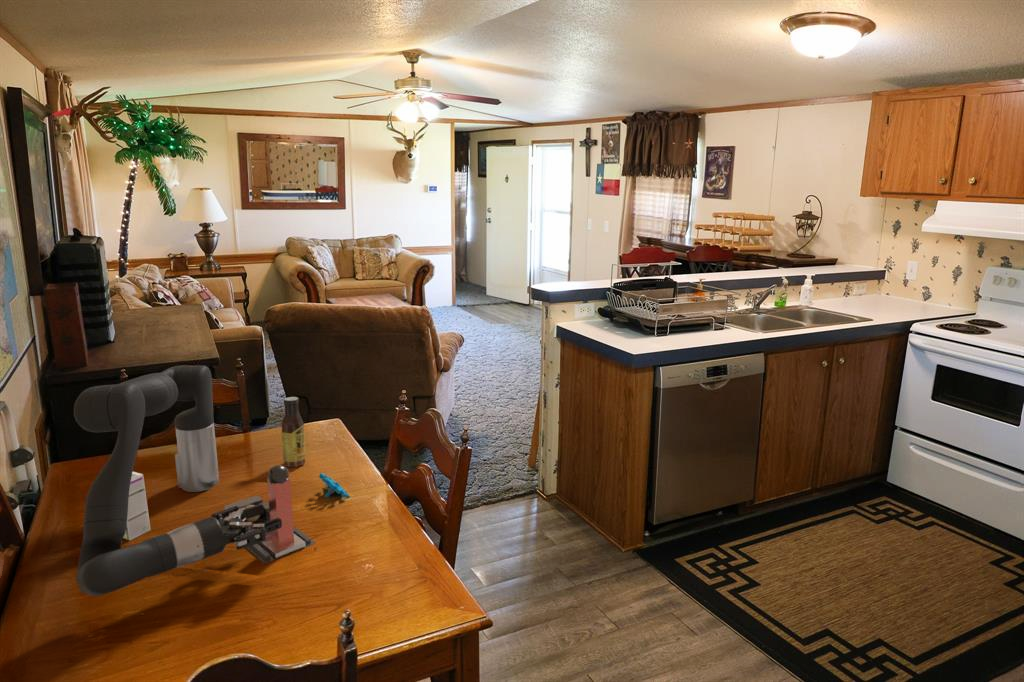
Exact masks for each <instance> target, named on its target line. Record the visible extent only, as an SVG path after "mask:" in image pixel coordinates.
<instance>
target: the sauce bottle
mask: <svg viewBox="0 0 1024 682" xmlns="http://www.w3.org/2000/svg"><path fill="white" fill-rule="evenodd" d="M299 400H300V399H299V397H297V396H289V397H284V398H283V405H284V416H283V417H282V419H281V444H282V446H281V447H282V460H283V466H285V467H286V468H298V467H301V466H303V465H305V463H306V439H305V436H306V435H305V424H304V421H303V418H302V416H301V413H300V410H299V402H300V401H299Z"/></svg>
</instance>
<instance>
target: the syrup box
mask: <svg viewBox="0 0 1024 682" xmlns="http://www.w3.org/2000/svg"><path fill="white" fill-rule="evenodd" d="M150 531H151V522H150V517H149V508H148V500H147V494H146V487H145V478H144V474H143V473H140V472H136V471H133V472H132V477H131V482H130V489H129V499H128V515H127V527H126V532H125V535H124V537H123V539H122V540H127V541H133V539H136V538H138V537H141V536H143V535H144V534H146V533H148V532H150Z"/></svg>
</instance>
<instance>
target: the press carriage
mask: <svg viewBox="0 0 1024 682" xmlns="http://www.w3.org/2000/svg"><path fill="white" fill-rule="evenodd" d="M266 481H267V495H268V504H269V511H270V520H273V519H276V518H280V519H281V520H282V527H281V528H280V529H277V530H274V531H272V532H269V533H267V534H266V541H263V542H261V543H258V544H260V545H261V546H262V547H263V548H264V549H265V550H267V551H268V552H269V553H270V554H271V555H273V556H274V557H275V558H277V557H280V556H282V555H285V554H287V553H290V552H293V551H295V550H298V549H300V548H303V547H305V546H306V543H305V541H303V540H302V539H301V538H299V537H298V536H297V535H295V534H294V531H293V526H294V519H293V506H292V505H293V504H292V503H293V501H292V491H291V489H292V488H291V479H290V472H289V470H288V467H286V466H285V465H282V464H276V465H274V466H271V468H270V469H269V470H268V472H267V479H266ZM257 538H260V537H255V539H257ZM305 548H306V547H305ZM303 549H304V548H303ZM300 550H301V549H300ZM298 551H299V550H298ZM295 552H296V551H295ZM293 553H294V552H293ZM290 554H291V553H290ZM285 556H286V555H285ZM280 558H281V557H280Z"/></svg>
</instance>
